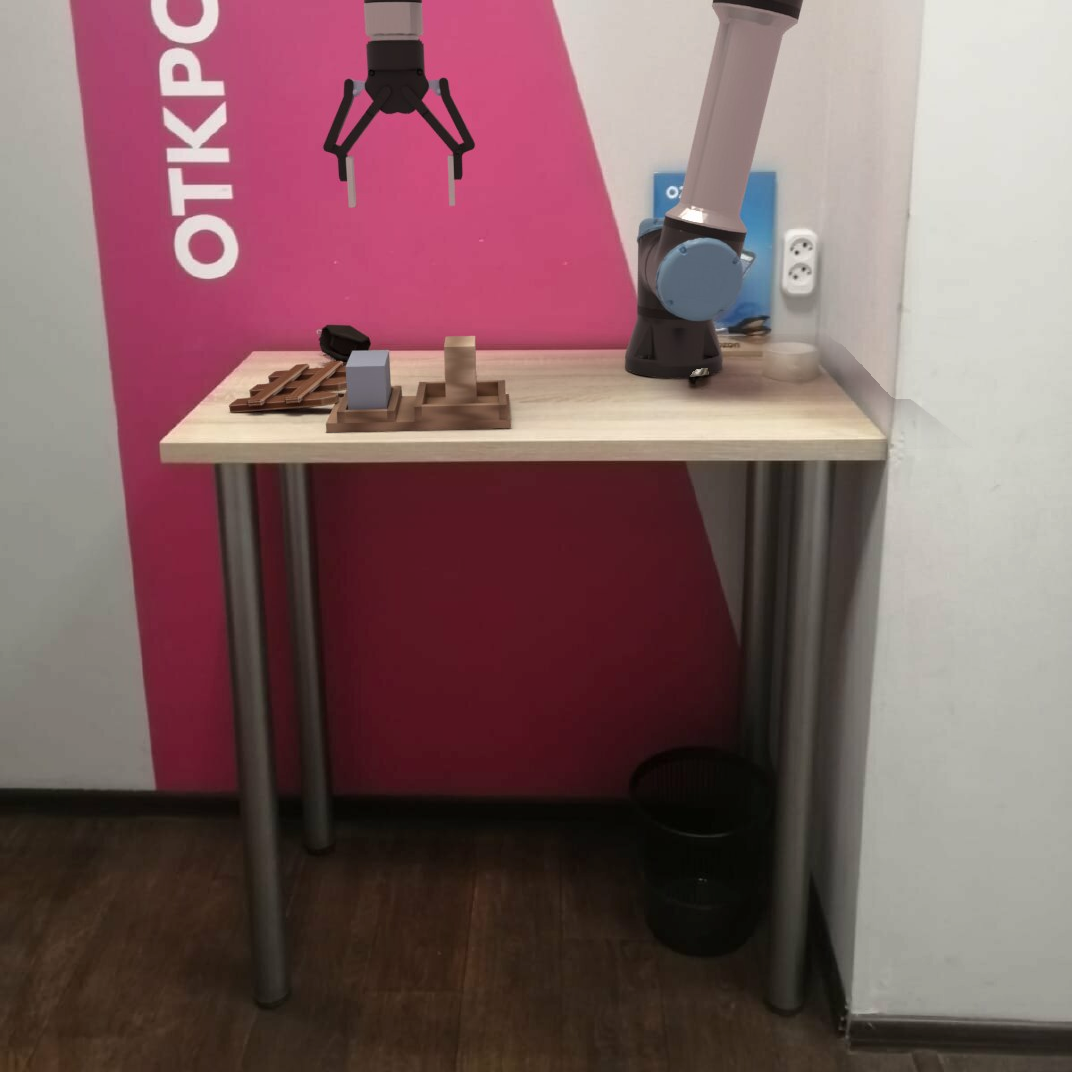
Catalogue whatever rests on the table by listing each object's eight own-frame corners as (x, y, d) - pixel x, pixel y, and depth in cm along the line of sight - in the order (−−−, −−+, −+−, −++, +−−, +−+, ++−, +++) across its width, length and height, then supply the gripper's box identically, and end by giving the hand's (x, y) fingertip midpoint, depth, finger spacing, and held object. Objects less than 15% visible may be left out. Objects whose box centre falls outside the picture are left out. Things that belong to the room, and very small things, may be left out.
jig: (509, 402, 179) (508, 380, 178) (510, 428, 166) (510, 404, 165) (338, 405, 178) (336, 383, 177) (326, 432, 165) (324, 408, 164)
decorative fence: (227, 415, 174) (332, 407, 172) (225, 402, 174) (330, 394, 172) (278, 377, 196) (372, 369, 194) (276, 365, 195) (370, 358, 193)
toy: (371, 339, 214) (377, 332, 200) (361, 376, 215) (366, 371, 200) (318, 323, 213) (320, 314, 198) (308, 360, 213) (309, 354, 198)
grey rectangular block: (391, 399, 176) (389, 350, 174) (387, 418, 167) (384, 365, 164) (355, 400, 176) (352, 350, 173) (348, 419, 166) (345, 366, 164)
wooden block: (477, 400, 175) (475, 335, 172) (476, 413, 168) (474, 346, 165) (448, 401, 175) (445, 336, 172) (446, 414, 168) (443, 346, 165)
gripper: (489, 38, 170) (493, 201, 177) (302, 40, 169) (314, 204, 177) (490, 37, 163) (493, 207, 170) (295, 39, 162) (307, 209, 170)
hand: (402, 206), depth 173 cm, fingers open, 13 cm apart
